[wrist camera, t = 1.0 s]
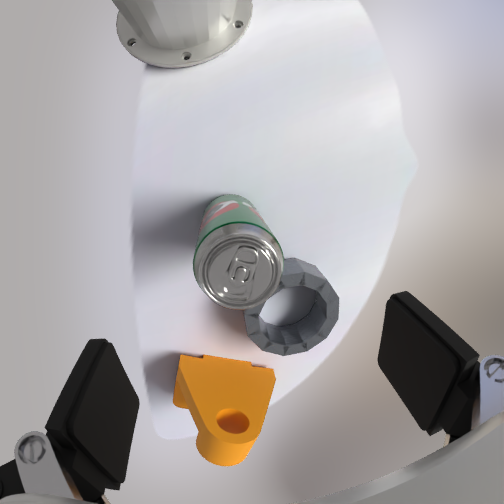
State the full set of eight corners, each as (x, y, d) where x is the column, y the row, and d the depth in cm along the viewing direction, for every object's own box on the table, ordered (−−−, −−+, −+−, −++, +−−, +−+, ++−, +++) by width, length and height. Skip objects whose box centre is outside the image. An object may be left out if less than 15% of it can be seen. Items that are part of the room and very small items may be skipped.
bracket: (173, 390, 32) (166, 469, 21) (181, 349, 30) (171, 435, 19) (254, 402, 34) (268, 477, 23) (271, 364, 32) (293, 445, 21)
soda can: (196, 239, 26) (182, 304, 15) (211, 186, 25) (205, 214, 14) (248, 253, 27) (270, 323, 16) (265, 202, 26) (302, 241, 15)
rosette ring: (236, 266, 28) (239, 282, 24) (326, 252, 28) (339, 265, 25) (248, 341, 31) (251, 361, 27) (326, 326, 31) (336, 344, 28)
